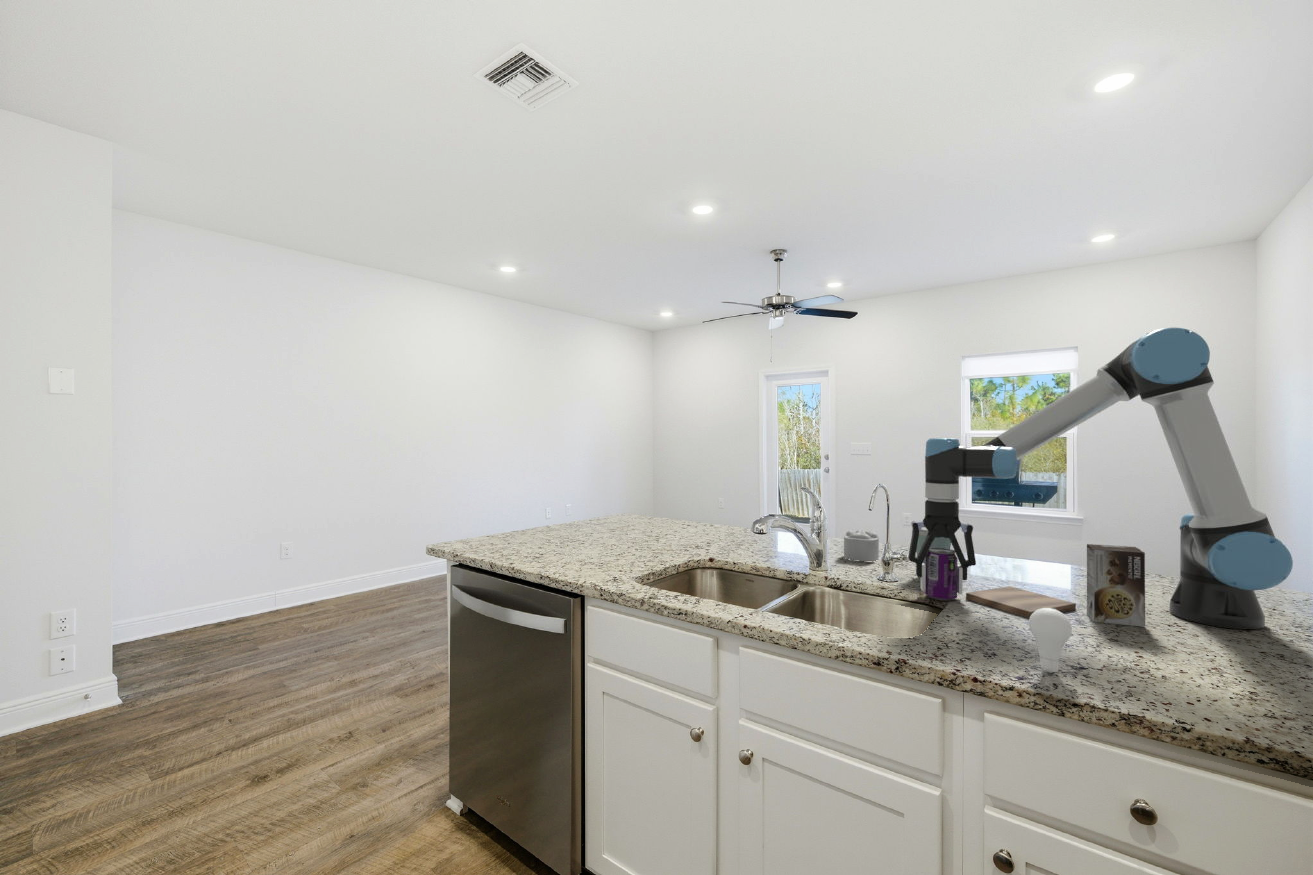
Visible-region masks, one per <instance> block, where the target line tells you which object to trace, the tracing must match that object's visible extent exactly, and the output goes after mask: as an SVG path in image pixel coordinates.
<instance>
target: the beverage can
mask: <svg viewBox="0 0 1313 875" xmlns="http://www.w3.org/2000/svg"><path fill="white" fill-rule="evenodd" d="M957 565H958V557H957V555H956V553H955V550H954V549H951V548H950V549H946V548H929V550H928V553H927V554H926V589H925V592H924V594H925V595H926V596H928V597H929V598H930V599H932V600H936V601H941V602H950V601H952V600H956V599H957V598H958V592H957Z"/></svg>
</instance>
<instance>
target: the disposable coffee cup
mask: <svg viewBox="0 0 1313 875" xmlns="http://www.w3.org/2000/svg"><path fill="white" fill-rule="evenodd" d="M912 532H913V529H911V533H912ZM928 532H929V531H928V530H927V529H926V527H925V526H922V529H921V530H919V538H918V543H917V549H916V557H917V556H918V554H919V552H920V550H921V548H922V546H923V543H924V541H925V539H926V536H927V534H928ZM951 546H952V544H951V541H950V539H949V538H944V537H940V538H935V539H934V540H933V542H932V544H931V546H930V548H946V549H951ZM927 553H928V552H927ZM923 563H924V564H925V565H926V557H925V559H924V561H923Z"/></svg>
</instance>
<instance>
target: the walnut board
mask: <svg viewBox="0 0 1313 875" xmlns="http://www.w3.org/2000/svg"><path fill="white" fill-rule="evenodd" d="M965 599H966V600H968V601H970V602H971V601H972V602H974V603H978V604H981V605H984V606H987V607H990V608H995V609H997V610H1001V611H1005V612H1008V613H1011V614H1014V615H1017V616H1021V617H1024V618H1028V619H1030V616H1031V615H1032V614H1033V613H1034V612H1035V611H1036V610H1038V609H1041V608H1052V609H1055V610H1058V611H1060V612H1061V613H1067V612H1071V611H1076V608H1077V607H1076V606H1077V605H1076V604H1077V603H1076V602H1071V601H1068V600H1064V599H1061V598H1057V597H1054V596H1048V595H1046V594H1042V593H1037V592H1033V591H1030V590H1026V589H1022V588H1018V587H1014V586H1010V585H1009V586H1002V587H995V588H989V589H984V590H975V591H970V592H966V593H965Z"/></svg>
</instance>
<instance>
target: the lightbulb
mask: <svg viewBox="0 0 1313 875" xmlns="http://www.w3.org/2000/svg"><path fill="white" fill-rule="evenodd" d="M1028 619H1029V620H1028V627H1029V631H1030V633H1031V635H1032V636H1033V638H1034V640H1035V642H1036V644H1037V649H1038V655H1039V657H1040V658H1039V662H1040V667H1041V668H1042V669H1043V670H1045V672H1046V673H1050V674H1052V673H1054V672H1057V671H1058V670H1059V666H1060V665H1059V664H1060V659H1061V657H1062V652H1063V648H1064V646H1065V645H1066V643H1067V642H1068V641H1069V639H1070V638H1071V635H1072V633H1073V629H1072V624H1071V622H1070V620H1069V618H1068V617H1067V616H1066V615H1065V613H1064V612H1062V613H1061V612H1060V611H1058V610H1055V609H1052V608H1041V609H1038V610H1036V611H1035V612H1034V613H1033V614H1032V615H1031V616H1030V618H1028Z"/></svg>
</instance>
